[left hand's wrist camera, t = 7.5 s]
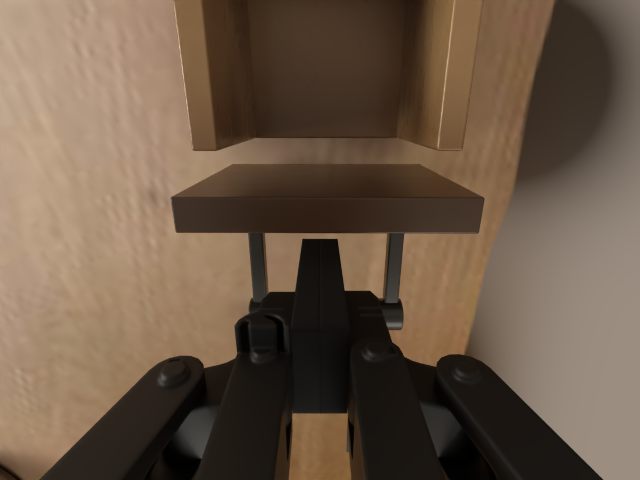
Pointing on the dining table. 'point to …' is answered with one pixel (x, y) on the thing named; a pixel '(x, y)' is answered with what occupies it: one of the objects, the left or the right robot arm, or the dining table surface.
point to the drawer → (328, 118)
